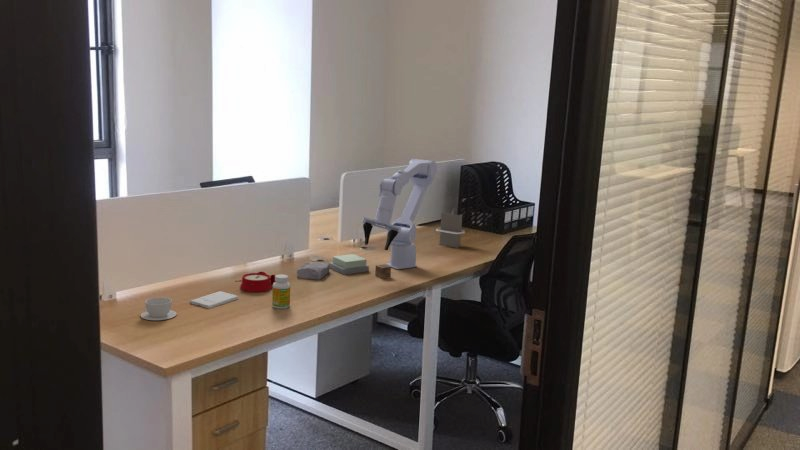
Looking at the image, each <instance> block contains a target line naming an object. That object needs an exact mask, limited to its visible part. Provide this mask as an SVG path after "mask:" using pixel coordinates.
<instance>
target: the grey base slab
mask: <svg viewBox="0 0 800 450" xmlns="http://www.w3.org/2000/svg"><path fill="white" fill-rule="evenodd" d="M327 264H329V265H330V266H329V268H330V269H331V270H332V271H333V270H334V271H335V272H337V273H339V274H342V275H350V274H357V273H364V272H365V273H366V272H369V271H370V266H369V265H367V264H366V266H362V267H354V268H347V269H345V268H343V267H341V266H338V265H336V264H334V263H333V261H329V262H328V263H327Z"/></svg>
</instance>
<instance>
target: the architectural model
mask: <svg viewBox="0 0 800 450" xmlns="http://www.w3.org/2000/svg"><path fill="white" fill-rule="evenodd" d="M440 213H441V215H440V216H441V217H440V226H439V227H437V228H436V229H435V231H436V232H440V233H439V245H440V246H444V247H450V248H456V249H458V248H460V247H461V241H462V240H461V239H462V238H461V237H462V234H466V232H465V231H466V230H462V225H463V214H455V213H454V214H453V213H452V212H448V213H447V212H440Z"/></svg>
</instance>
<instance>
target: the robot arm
mask: <svg viewBox="0 0 800 450" xmlns="http://www.w3.org/2000/svg"><path fill="white" fill-rule="evenodd" d="M437 169H438V168H437V163H436V161H435V160H426V159H420V158H415V157H414V158H412V159H411V160H409V162H408V166H407V167H406V168H405V169H404V170H401V169H399V170H397V172H396V173H394V174H392V175H391V176H390V177H389V178H383V179H381V181H380V184H379V201H378V205H377V210H376V213H375V217H374V219H373V218H368V217H363V216H362V218H361V224H363V225H362V227H363V228H362V229H363V233H364V246H368V244H369V242H370V237H371V233H372V230H373V228H374V227H377V228H379V229H380V228H381V229H385V230H387V231H386V242H385V245H384V251H388V250H389V248H390V262H388V263H387V262H386V263H385V265H388V266H390V267H391V268H393V269H396V270H401V269H402V270H403V269H410V268H415V267H416V268H417V264H416V261H417V260H416V259H417V248H416V247H417V246H416V245H415V243H414V242H415V240H416V234H417V231H418V228H417V226H416V223H414V222H415V219H416V218H417V217H416V216H417V214H418V212H419V210H420V207H421V205H422V203H423V201H424V197H425V195H426V194H427V191H428V189H429V186H430V185H432V184H433V182H434V179H435V178H436V175H437ZM410 181H411V182H412V184H414V186H413V188H412V191H411V192H410V195H409V198H408V200H407V202H406V205H405V207H404V208H403V211H402V213H401V216H400V217H399V218H396V219H394V220H393V221H392V216H393V213H394V208H395V205H396V200H397V197H398V196H399V195H400V194H401V192H402V190H403V189H404V187H405V186H406V185H408V184H409V182H410ZM391 221H392V223H391Z"/></svg>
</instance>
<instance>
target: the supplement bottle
mask: <svg viewBox="0 0 800 450" xmlns="http://www.w3.org/2000/svg"><path fill="white" fill-rule="evenodd" d="M275 275H276V276H275V281H276V282H274V283H273V285H272V293H271V294H272V299H271V300H272V301H271V303H272V305H271V306H272V307H273V308H274V309H280V310H283V309H288V308H290V306H291V284H290V282H289V275H287V274H283V273H282V274H275Z"/></svg>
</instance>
